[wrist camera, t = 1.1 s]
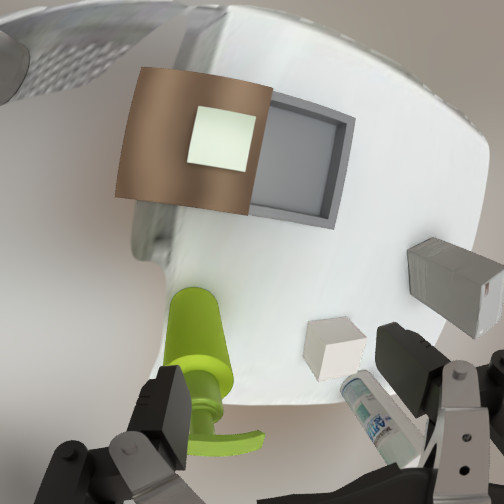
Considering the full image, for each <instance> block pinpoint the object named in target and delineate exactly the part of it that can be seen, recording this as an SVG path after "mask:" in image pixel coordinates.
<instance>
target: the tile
mask: <svg viewBox="0 0 504 504" xmlns="http://www.w3.org/2000/svg"><path fill="white" fill-rule="evenodd" d="M255 120H256V117H255V116H251V115H246V114H241V113H236V112H231V111H226V110H221V109H215V108H209V107H203V106H198V110H197V115H196V119H195V124H194V129H193V133H192V138H191V143H190V148H189V153H188V158H187V163H190V164H197V165H203V166H210V167H216V168H222V169H228V170H233V171H239V172H245V170H246V165H247V160H248V155H249V149H250V144H251V140H252V135H253V130H254V125H255Z"/></svg>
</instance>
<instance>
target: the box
mask: <svg viewBox="0 0 504 504" xmlns="http://www.w3.org/2000/svg"><path fill="white" fill-rule="evenodd" d="M355 119H356V118H354V117H351V116H349V115H346V114H344V113H341V112H338V111H335V110H333V109H330V108H327V107H324V106H321V105H318V104H315V103H312V102H309V101H306V100H302V99H299V98H296V97H292V96H289V95H285V94H282V93H278V92H274V91H273V92H272V97H271V102H270V107H269V112H268V117H267V121H266V126H265V131H264V136H263V141H262V146H261V151H260V156H259V162H258V167H257V172H256V177H255V182H254V187H253V192H252V197H251V202H250V208H249V213H248V214H249V215H255V216H261V217H267V218H272V219H278V220H284V221H290V222H295V223H301V224H306V225H312V226H317V227H322V228H328V229H333V230H334V227H335V223H336V219H337V214H338V210H339V205H340V201H341V196H342V191H343V186H344V181H345V176H346V171H347V166H348V161H349V155H350V150H351V144H352V138H353V132H354V126H355Z"/></svg>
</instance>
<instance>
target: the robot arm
mask: <svg viewBox="0 0 504 504" xmlns="http://www.w3.org/2000/svg"><path fill="white" fill-rule="evenodd" d="M28 66H29V52H28V49H27V48H26V47H25V46H24V45H22V44H21V43H19V42H18V41H16V40H15V39H13V38H12V37H10V36H9V35H7V34H6V33H4V32H2V31H1V30H0V106H1V105H2V104H4V103H5V102H7V101H8V100H9V99H10V98H11V97H12V96H13V95H14V93H15V92H16V91H17V90H18V88H19V87H20V85H21V83H22V81H23V79H24V78H25V75H26V72H27V69H28ZM375 362H376V366H377V369H378V370H379V372H380V373H381V374H382V376H383V377H384V378H385V379H386V381H387V382H388V383H389V384H390V386H391V387H392V388H393V390H394V391H395V392H396V393H397V395H398V396H399V397H400V399H401V400H402V401H403V402H404V404H405V405H406V406H407V408H408V409H409V410H410V412H412V414H413V415H414V417H415V418H418V417H420V416H422V415H424V414H427V415H428V420H427V423H426V430H425V436H424V441H423V447H422V452H421V457H420V460H419V463H418V466H417V467H412V468H403V469H400V468H399V466H398V464H397V463H396V462H394V463H392V464H390V465H387V466H385V467H382V468H380V469H377V470H375V471H372V472H369V473H367V474H364V475H363V476H361V477H359V478H358V479H356V480H355V481H353V482H351V483H349V484H347V485H346V486H344V487H342V488H340V489H338V490H336V491H334V492H330V493H316V494H291V495H287V496H281V497H275V498H268V499H262V500H257V504H504V485H498V484H492V483H489V467H490V465H489V464H490V439H491V440H492V441H493V443H494V444H495V445H496V446H497V448H498V449H499V450H500V452H501V453H502V454H503V456H504V350H498V351H496V352H494V353H493V355H492V357H491V360H490V363H489V364H487V365H483V366H479V367H474V365H473V364H471V363H469V362H467V361H463V360H456V361H450V360H449V359H448V358H447V357H445V356H444V355H443V354H442V353H441V352H439V351H438V350H437V349H436V348H435V347H434V346H431V344H430V343H429V342H428V341H425V339H424V338H423V337H422V336H420V335H419V334H418V333H416V332H413V331H410V330H405V329H404V328H403V327H401V326H400V325H399V324H398V323H397V322H392V323H389V324H386V325H383V326H379V327H378V329H377V337H376V351H375ZM191 412H192V400H191V396H190V392H189V390H188V387H187V384H186V381H185V378H184V375H183V373H182V370H181V367H180V366H179V365H170V366H160V368H159V370H158V373H157V376H156V379H149V380H148V381H147V383H146V384H145V385H144V386H143V387H142V389H141V391H140V394H139V398H138V400H137V402H136V406H135V408H134V411H133V414H132V417H131V420H130V423H129V425H128V428H127V431H126V432H123V433H121V434H119V435H118V436H116V437H115V438H114V439H113V440H112V441H111V443H110V445H109V447H105V448H99V449H93V450H88V449H87V448H86V446H85V445H84V444H83V443H81V442H79V441H75V440H71V441H66V442H64V443H62V444H61V445H59V446H58V447H57V448H56V450H55V451H54V454H53V456H52V458H51V461H50V463H49V466H48V468H47V470H46V473H45V475H44V478H43V480H42V483H41V486H40V488H39V491H38V493H37V496H36V499H35V502H34V504H123V502H124V501H125V500H131V499H133V500H134V502H135V503H136V504H206V503H204V501H202V499H200V497H199V496H198V495H196V493H195V492H194V491H193V490H192V489H191V488H190V487H189V486H188V485H187V484H186V483H185V482H184V480H183V479H182V478H181V477H180V476H179V475H178V474H176V473H175V470H185V468H186V458H187V448H188V438H189V429H190V420H191Z"/></svg>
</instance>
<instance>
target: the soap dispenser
mask: <svg viewBox="0 0 504 504" xmlns="http://www.w3.org/2000/svg"><path fill="white" fill-rule="evenodd" d="M170 365H179V366H180V367H181V370H182V373H183V375H184V378H185V381H186V384H187V387H188V390H189V392H190V396H191V400H192V412H191V420H190V434H189V438H188V448H187V455H195V456H233V455H239V454H244V453H248V452H252V451H255V450H258V449H260V448H261V447H262V444H263V440H264V437H265V433H263V432H261V431H259V430H257V431H253V432H248V433H243V434H235V435H215V429H214V423H216V422H218V421H219V420H220V419H221V417H222V416H223V404H222V399H223V398H224V397H225V396H226V395H227V394H228V393H229V392H230V391H231V389H232V386H233V383H234V377H233V373H232V368H231V364H230V359H229V355H228V350H227V346H226V341H225V336H224V332H223V327H222V322H221V317H220V312H219V307H218V303H217V301H216V299H215V297H214V296H213V295H212V294H211V293H210V292H208V291H207V290H204V289H202V288H197V287H190V288H186V289H183V290H181V291H179V292H178V293H177V294H176V295H175V296H174V297H173V299H172V301H171V304H170V310H169V318H168V326H167V334H166V342H165V351H164V361H163V366H170Z"/></svg>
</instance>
